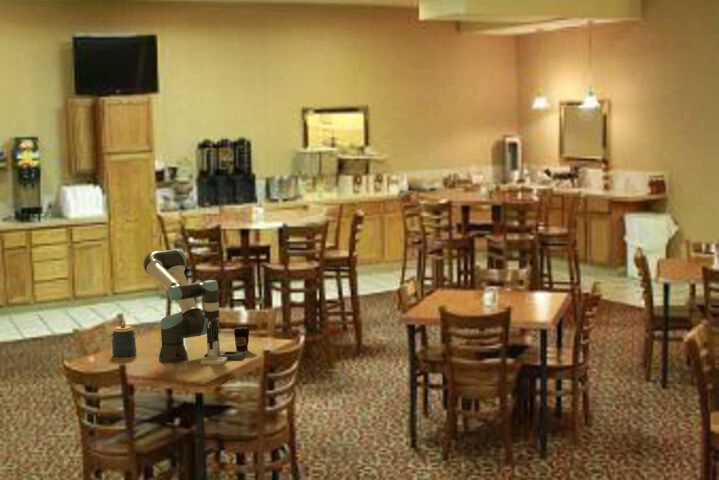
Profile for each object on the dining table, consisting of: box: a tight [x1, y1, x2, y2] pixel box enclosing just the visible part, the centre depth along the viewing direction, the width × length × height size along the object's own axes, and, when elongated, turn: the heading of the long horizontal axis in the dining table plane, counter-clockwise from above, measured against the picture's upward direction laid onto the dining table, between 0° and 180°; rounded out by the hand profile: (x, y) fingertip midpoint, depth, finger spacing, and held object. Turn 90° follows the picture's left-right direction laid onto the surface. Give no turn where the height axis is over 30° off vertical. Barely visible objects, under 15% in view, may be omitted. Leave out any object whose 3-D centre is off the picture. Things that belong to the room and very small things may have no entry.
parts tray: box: [199, 357, 229, 365], centre depth 528 cm, size 12×9×2 cm
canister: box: [110, 322, 137, 358], centre depth 550 cm, size 13×13×18 cm
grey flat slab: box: [203, 350, 246, 361], centre depth 537 cm, size 20×9×2 cm, turn 81°
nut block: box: [206, 338, 221, 360], centre depth 527 cm, size 5×5×10 cm
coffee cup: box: [233, 326, 250, 353], centre depth 551 cm, size 9×8×13 cm
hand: (213, 353), depth 527 cm, fingers closed on nut block, 5 cm apart
